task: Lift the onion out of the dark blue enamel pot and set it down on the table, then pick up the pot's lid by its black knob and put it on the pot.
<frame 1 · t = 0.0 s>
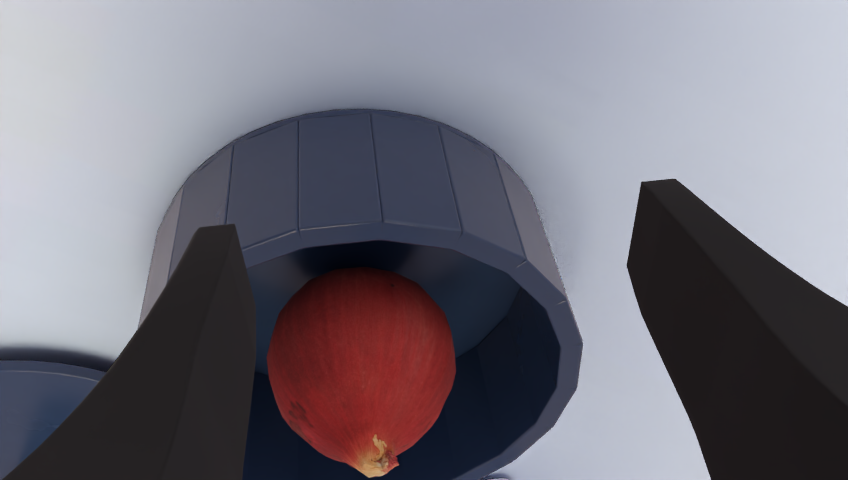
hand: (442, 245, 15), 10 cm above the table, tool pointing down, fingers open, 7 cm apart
pot: (355, 271, 29), on the table
lid: (48, 475, 33), point 1 cm above the table
onion: (355, 273, 29), resting on pot
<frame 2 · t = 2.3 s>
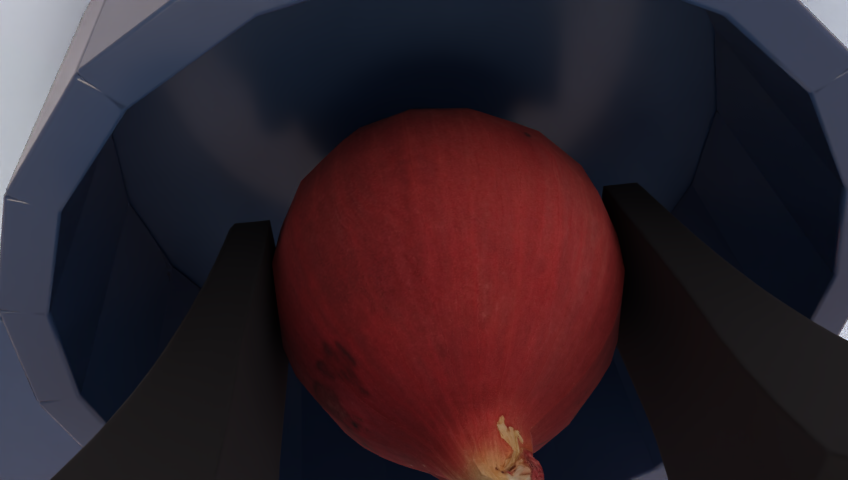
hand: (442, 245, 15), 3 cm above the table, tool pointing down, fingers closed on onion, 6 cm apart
pot: (422, 146, 17), on the table
onion: (420, 149, 17), resting on pot, touching gripper
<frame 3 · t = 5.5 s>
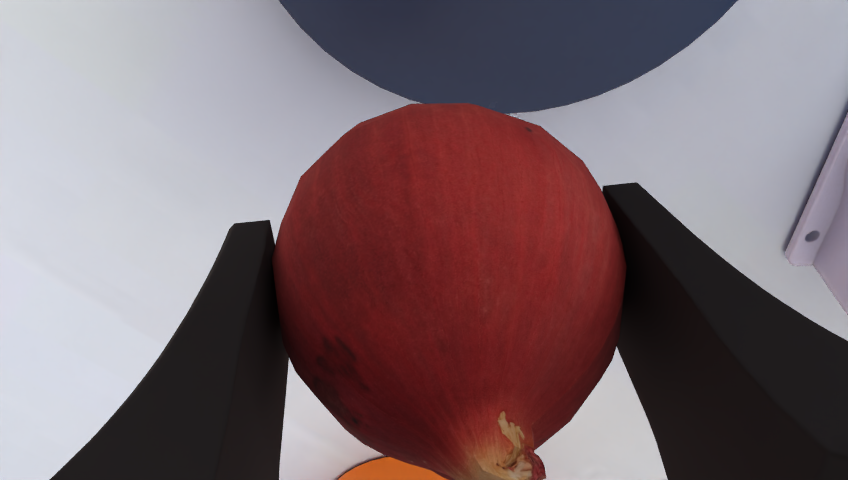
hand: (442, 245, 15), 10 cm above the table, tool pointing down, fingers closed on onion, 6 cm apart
onion: (421, 145, 17), point 7 cm above the table, touching gripper
when the fingers open (3 cm above the table, at t = 8.6 s): onion stays where it is, on the table.
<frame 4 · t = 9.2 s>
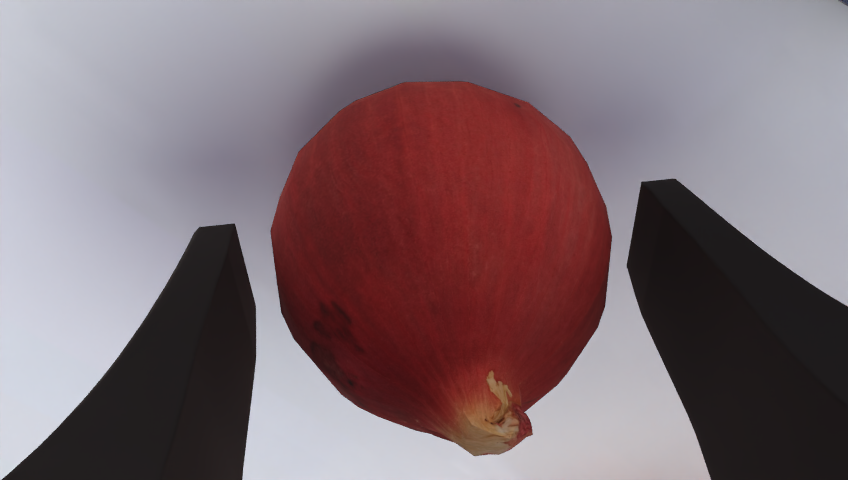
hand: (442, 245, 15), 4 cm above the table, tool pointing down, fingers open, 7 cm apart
onion: (415, 126, 17), on the table
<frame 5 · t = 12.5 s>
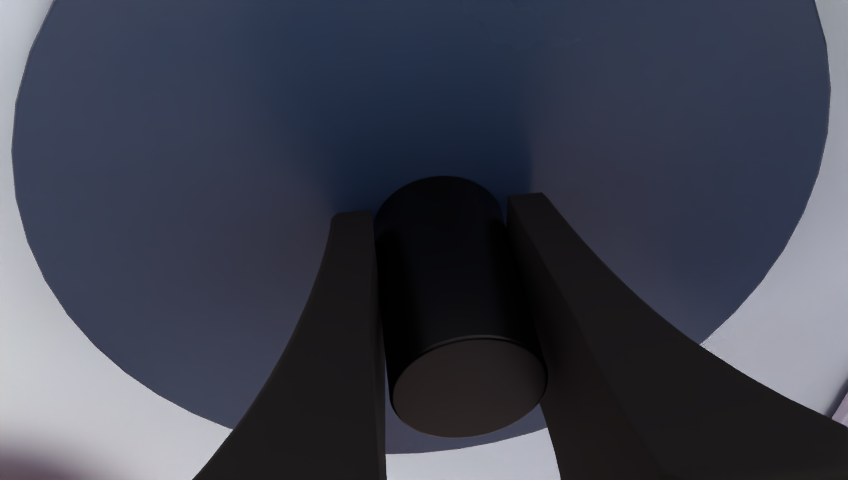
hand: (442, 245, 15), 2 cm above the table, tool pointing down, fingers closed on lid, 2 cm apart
lid: (434, 209, 15), point 1 cm above the table, touching gripper
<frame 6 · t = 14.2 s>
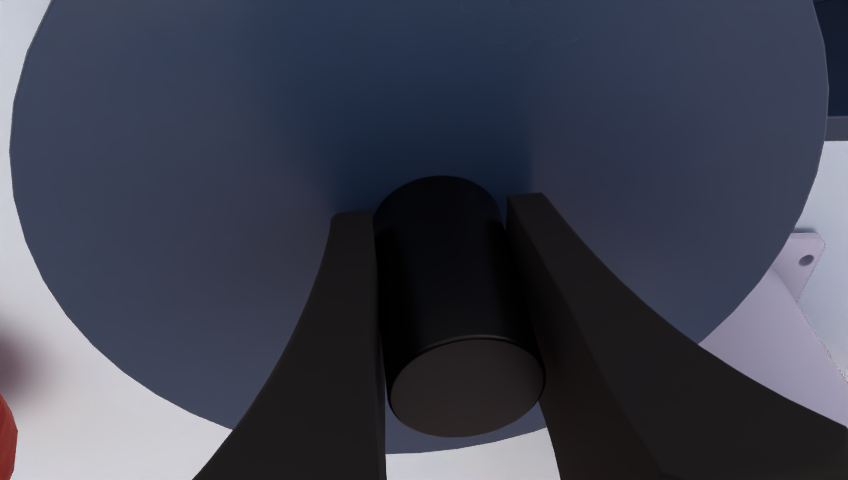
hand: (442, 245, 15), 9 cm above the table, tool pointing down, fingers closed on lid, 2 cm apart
lid: (432, 209, 15), point 8 cm above the table, touching gripper
when the fingers open (6 cm above the table, at t = 16.3 s): lid stays where it is, resting on pot.
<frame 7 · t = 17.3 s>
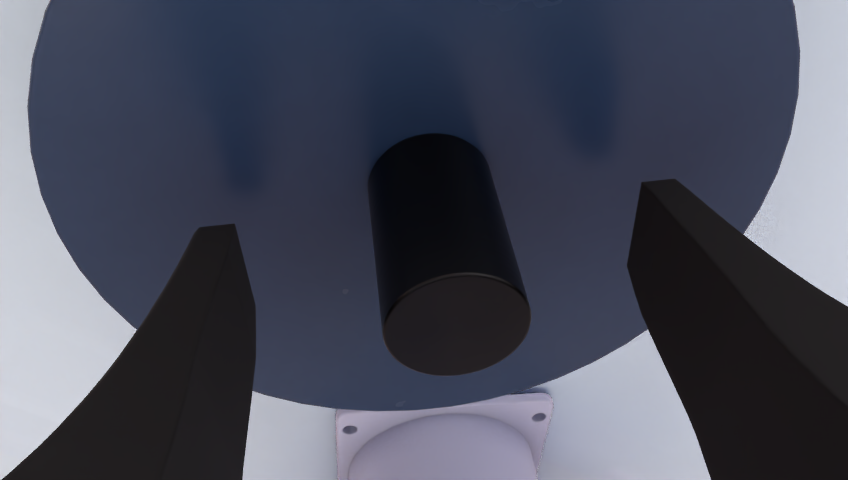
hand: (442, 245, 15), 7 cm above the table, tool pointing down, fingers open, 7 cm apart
lid: (426, 168, 16), point 5 cm above the table, touching pot
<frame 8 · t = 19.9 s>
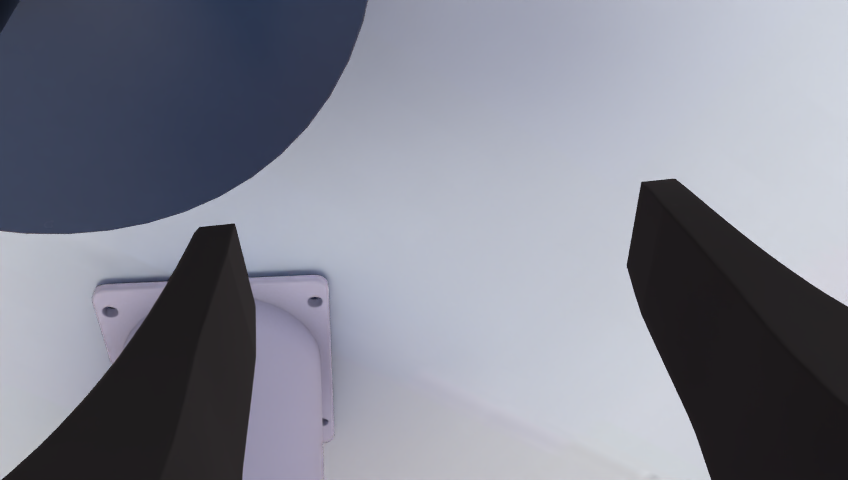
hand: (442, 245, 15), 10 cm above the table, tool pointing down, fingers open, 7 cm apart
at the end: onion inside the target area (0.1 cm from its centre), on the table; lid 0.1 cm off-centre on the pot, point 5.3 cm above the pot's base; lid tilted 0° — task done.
